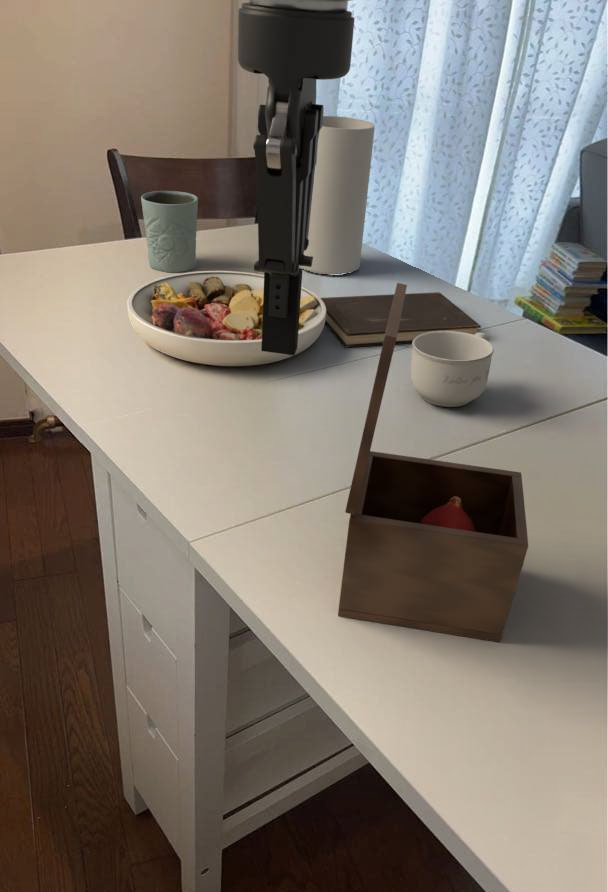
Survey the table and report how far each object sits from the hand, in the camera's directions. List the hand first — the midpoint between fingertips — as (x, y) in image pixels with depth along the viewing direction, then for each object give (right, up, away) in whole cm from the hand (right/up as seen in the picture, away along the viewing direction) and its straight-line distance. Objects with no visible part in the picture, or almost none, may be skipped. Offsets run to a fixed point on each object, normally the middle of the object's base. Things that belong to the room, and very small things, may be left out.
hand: (279, 349), depth 65 cm
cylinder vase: (+6, +37, +89) cm, 97 cm away
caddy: (+13, -20, +12) cm, 27 cm away
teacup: (+23, +5, +47) cm, 52 cm away
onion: (+14, -19, +11) cm, 27 cm away
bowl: (-10, +16, +59) cm, 62 cm away
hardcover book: (+17, +20, +67) cm, 72 cm away
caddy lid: (+8, -4, +1) cm, 9 cm away
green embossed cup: (-23, +36, +84) cm, 94 cm away
